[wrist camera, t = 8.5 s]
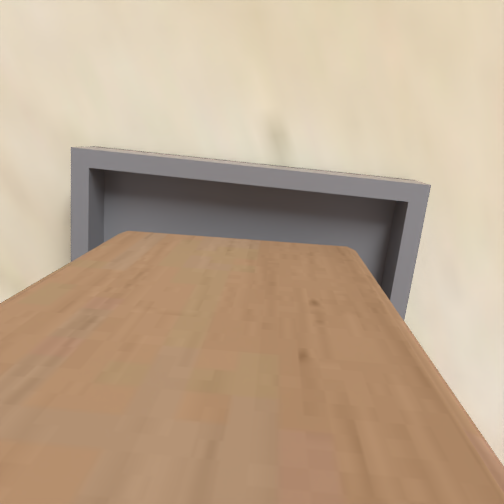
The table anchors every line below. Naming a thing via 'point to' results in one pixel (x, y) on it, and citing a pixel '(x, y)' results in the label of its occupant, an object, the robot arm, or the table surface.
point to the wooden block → (226, 383)
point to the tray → (249, 207)
